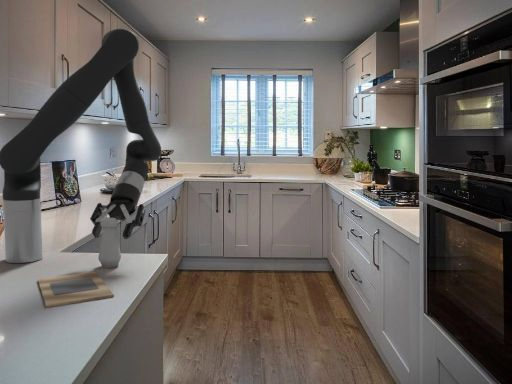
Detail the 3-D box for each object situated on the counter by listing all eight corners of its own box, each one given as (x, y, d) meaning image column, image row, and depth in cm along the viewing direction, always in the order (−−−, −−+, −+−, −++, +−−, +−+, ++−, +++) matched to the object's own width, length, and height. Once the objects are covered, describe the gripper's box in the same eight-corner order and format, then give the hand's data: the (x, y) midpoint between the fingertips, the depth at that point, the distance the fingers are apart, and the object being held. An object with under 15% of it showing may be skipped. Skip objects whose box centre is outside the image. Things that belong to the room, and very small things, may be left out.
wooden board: (38, 281, 103) (38, 278, 103) (95, 273, 110) (95, 271, 110) (46, 307, 86) (46, 304, 86) (113, 296, 93) (113, 293, 93)
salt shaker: (114, 269, 114) (113, 220, 112) (94, 268, 115) (92, 219, 114) (125, 263, 119) (124, 216, 118) (106, 262, 121) (105, 216, 119)
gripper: (100, 181, 125) (79, 227, 115) (147, 182, 123) (130, 229, 113) (110, 198, 131) (90, 243, 121) (155, 199, 128) (139, 245, 118)
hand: (109, 236), depth 117 cm, fingers open, 8 cm apart
